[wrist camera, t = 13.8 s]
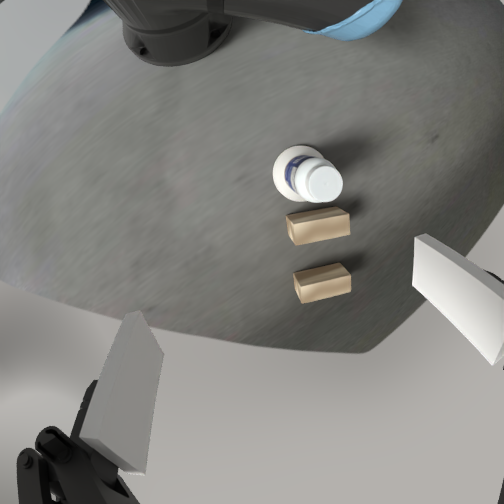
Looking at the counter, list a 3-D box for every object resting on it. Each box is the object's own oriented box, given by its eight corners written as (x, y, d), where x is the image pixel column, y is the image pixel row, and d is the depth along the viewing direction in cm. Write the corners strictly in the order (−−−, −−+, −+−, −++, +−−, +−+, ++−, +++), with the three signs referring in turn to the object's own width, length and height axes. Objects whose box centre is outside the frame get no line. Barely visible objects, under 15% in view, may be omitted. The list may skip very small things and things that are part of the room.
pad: (268, 149, 36) (269, 149, 35) (323, 142, 36) (324, 142, 35) (277, 205, 39) (278, 205, 38) (329, 196, 39) (330, 196, 39)
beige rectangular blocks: (285, 215, 40) (293, 224, 35) (336, 206, 40) (349, 214, 36) (294, 288, 44) (302, 303, 40) (340, 278, 45) (350, 291, 41)
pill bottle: (319, 154, 36) (349, 160, 27) (319, 191, 38) (347, 207, 29) (282, 154, 36) (302, 158, 27) (282, 192, 38) (301, 209, 29)
